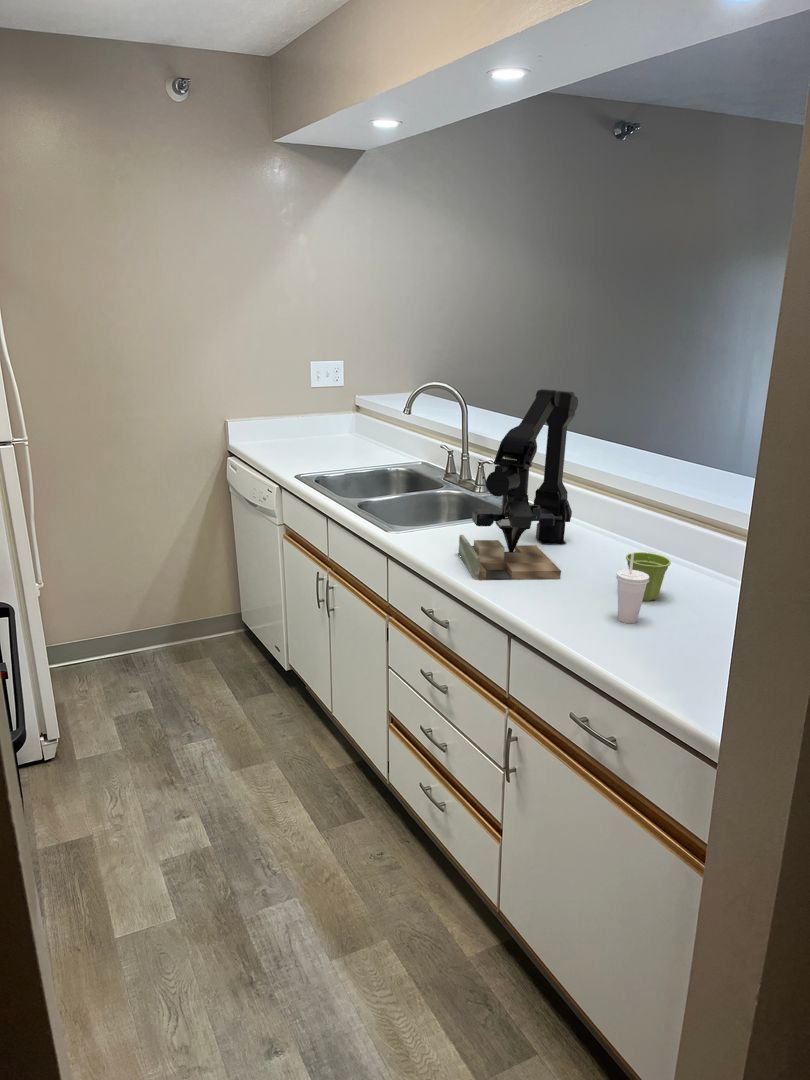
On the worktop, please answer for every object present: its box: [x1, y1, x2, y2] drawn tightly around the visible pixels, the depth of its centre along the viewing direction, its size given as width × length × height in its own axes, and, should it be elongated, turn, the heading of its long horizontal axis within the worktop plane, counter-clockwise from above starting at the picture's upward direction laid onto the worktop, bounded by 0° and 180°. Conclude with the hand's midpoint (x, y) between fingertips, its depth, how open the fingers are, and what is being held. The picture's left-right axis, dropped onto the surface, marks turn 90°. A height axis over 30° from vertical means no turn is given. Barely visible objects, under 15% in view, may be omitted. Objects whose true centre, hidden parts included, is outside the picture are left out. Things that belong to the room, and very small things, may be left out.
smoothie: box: [615, 552, 649, 624], centre depth 161 cm, size 6×6×14 cm
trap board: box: [458, 534, 562, 581], centre depth 193 cm, size 20×20×5 cm
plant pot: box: [625, 551, 672, 602], centre depth 175 cm, size 9×9×9 cm
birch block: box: [473, 539, 505, 562], centre depth 193 cm, size 6×6×4 cm
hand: (510, 552), depth 193 cm, fingers closed
